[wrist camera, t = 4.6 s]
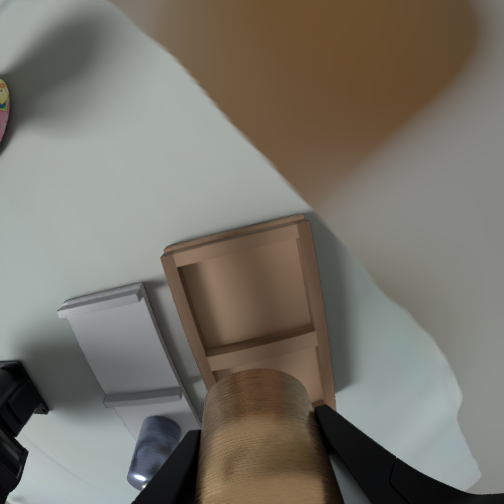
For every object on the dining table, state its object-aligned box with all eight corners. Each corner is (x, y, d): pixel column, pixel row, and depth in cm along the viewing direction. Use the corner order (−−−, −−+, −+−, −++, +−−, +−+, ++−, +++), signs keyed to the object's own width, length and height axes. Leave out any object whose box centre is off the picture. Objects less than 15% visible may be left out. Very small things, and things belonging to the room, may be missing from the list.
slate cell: (152, 442, 22) (139, 499, 15) (135, 416, 21) (117, 476, 15) (187, 439, 22) (181, 500, 15) (172, 413, 21) (161, 477, 15)
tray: (228, 420, 23) (229, 439, 21) (167, 246, 19) (159, 254, 17) (328, 396, 23) (336, 413, 21) (299, 213, 19) (308, 218, 17)
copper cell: (221, 446, 9) (221, 608, 3) (189, 379, 9) (157, 593, 2) (314, 428, 10) (363, 588, 3) (301, 356, 9) (379, 572, 2)
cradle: (150, 454, 24) (148, 467, 22) (66, 300, 19) (55, 309, 18) (215, 449, 24) (215, 462, 22) (142, 282, 20) (135, 291, 18)
